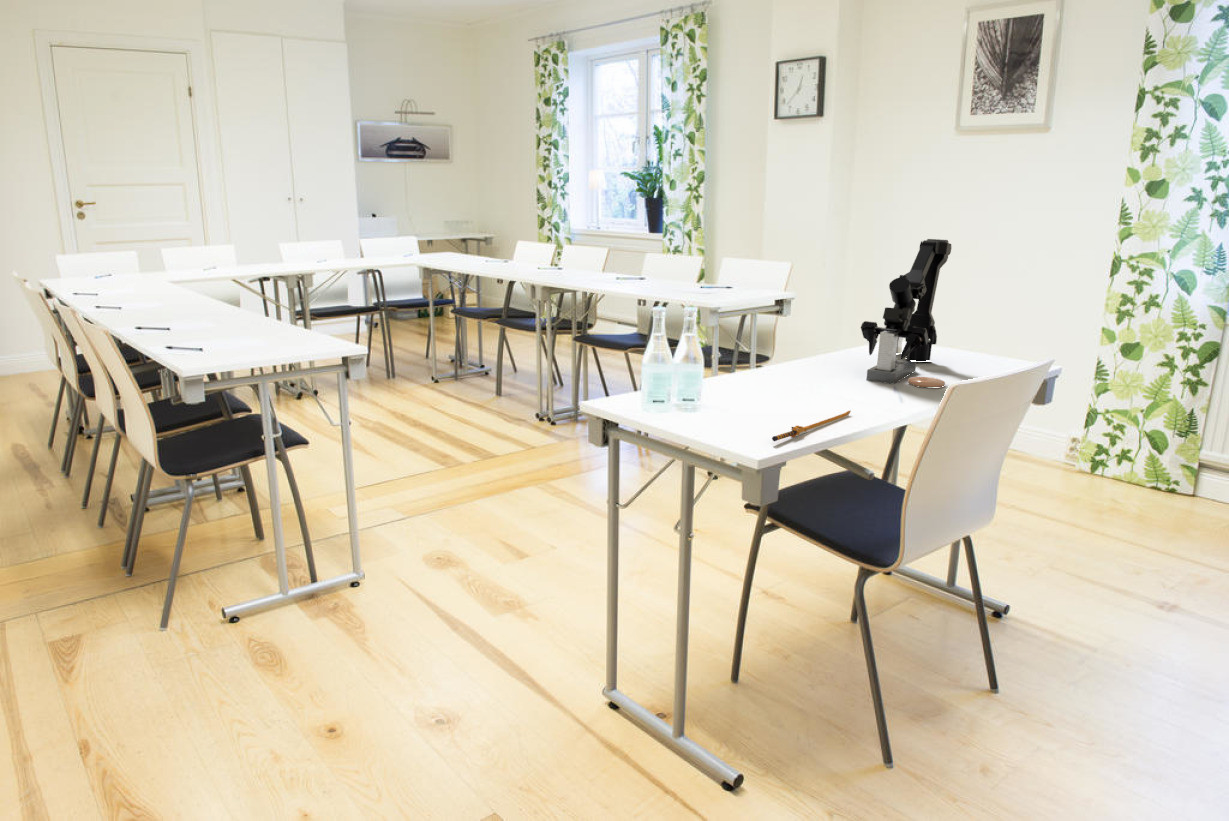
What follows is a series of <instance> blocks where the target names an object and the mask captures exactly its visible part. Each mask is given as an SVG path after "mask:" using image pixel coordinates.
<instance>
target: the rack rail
mask: <svg viewBox="0 0 1229 821" xmlns="http://www.w3.org/2000/svg"><path fill="white" fill-rule="evenodd" d="M916 367H917V363H916V362H911V361H909V360H904V359H896V361H895V370H894V371H893V372H887V371H880V370H877V364H876V365H874V366H873V367H869V368H868V369H867V371H866V381H871V382H872V381H873V382H879V383H884V382H886V384H891V383H894V384H896V383H898V382H900V381H902V380H903V379H905V378H907V377H908V376H907V375H909V374H910V375H912V374H913V373H912V372H914V371H915V372H916ZM915 372H914V373H915ZM911 373H912V374H911ZM910 375H909V376H910ZM906 376H907V377H906ZM904 377H905V378H904ZM902 378H903V379H902ZM901 379H902V380H901ZM899 380H900V381H899ZM897 381H898V382H897Z"/></svg>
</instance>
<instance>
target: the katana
mask: <svg viewBox="0 0 1229 821" xmlns="http://www.w3.org/2000/svg"><path fill="white" fill-rule="evenodd" d="M851 412H852V411H851V410H847V411H846V412H844V413H843V412H842V413H841V414H838V415H835V416H832V417H830V418H827V419H824V420H821V421H818V422H815V423H813V424H809V425H806V426H800V425H795V426H791V428H790V431H787V432H784V433H781V434H778V435H774V436H772V437H771V439H772V441H773V442H777V441H780V440H783V439H786V438H788V437H790V438H792V437H795V436H796V437H799V436H801V435H803V434H807V432H809V431H810V432H811V431H812V430H815V429H818V428H821V427H823V426H827V425H829V424H831V423H834V422H836V421H839V420H841V419H844V418H846V417H848V416H849V415H850V414H851ZM798 435H799V436H798ZM796 437H795V438H796Z"/></svg>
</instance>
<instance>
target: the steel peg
mask: <svg viewBox="0 0 1229 821" xmlns="http://www.w3.org/2000/svg"><path fill="white" fill-rule="evenodd" d="M898 333H899V332H893V331H883V332H880V334H879V343H878V350H877V351H878V353H877V364H876V365H877V370H880V371H887V372H893V371H894V370H895V361H896V360H897V355H896V352H897V342H898Z"/></svg>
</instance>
